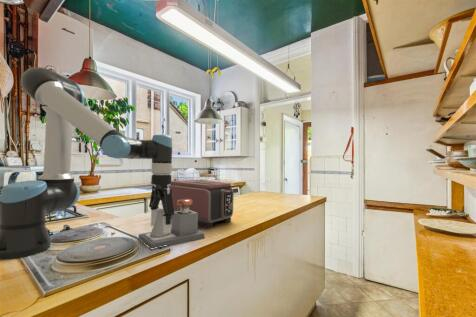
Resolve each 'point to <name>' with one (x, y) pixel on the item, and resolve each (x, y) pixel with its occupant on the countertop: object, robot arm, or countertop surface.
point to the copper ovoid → (184, 205)
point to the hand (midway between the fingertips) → (160, 229)
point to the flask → (158, 225)
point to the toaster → (205, 200)
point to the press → (176, 231)
